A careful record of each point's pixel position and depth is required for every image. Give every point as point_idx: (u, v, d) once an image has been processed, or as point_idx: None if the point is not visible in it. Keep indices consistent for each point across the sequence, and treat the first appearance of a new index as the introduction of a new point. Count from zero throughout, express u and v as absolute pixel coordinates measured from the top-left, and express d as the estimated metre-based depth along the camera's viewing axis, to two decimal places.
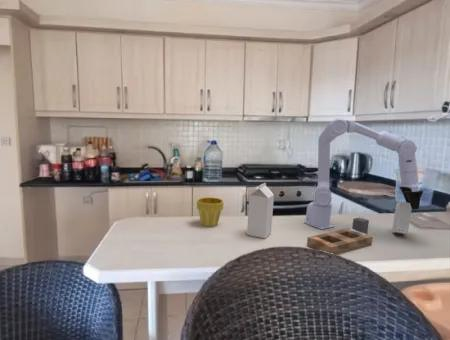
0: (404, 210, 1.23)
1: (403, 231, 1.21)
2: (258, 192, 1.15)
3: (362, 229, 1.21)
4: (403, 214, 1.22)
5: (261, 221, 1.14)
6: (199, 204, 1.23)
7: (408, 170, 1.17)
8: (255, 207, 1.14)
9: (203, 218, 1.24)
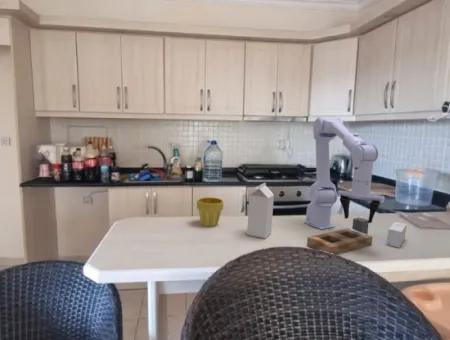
0: None
1: None
2: (258, 192, 1.15)
3: (362, 229, 1.21)
4: None
5: (261, 221, 1.14)
6: (199, 204, 1.23)
7: (353, 178, 1.07)
8: (255, 207, 1.14)
9: (203, 218, 1.24)
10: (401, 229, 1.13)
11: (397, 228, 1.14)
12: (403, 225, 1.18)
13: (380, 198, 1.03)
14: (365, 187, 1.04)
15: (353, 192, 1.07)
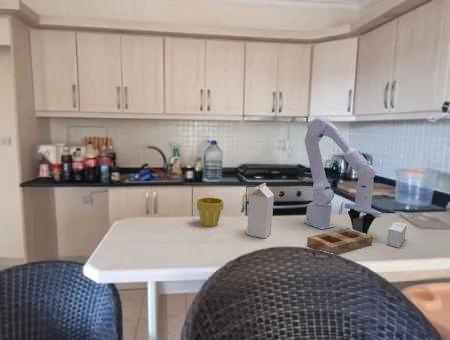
0: None
1: None
2: (258, 192, 1.15)
3: (362, 229, 1.21)
4: None
5: (261, 221, 1.14)
6: (199, 204, 1.23)
7: (361, 195, 1.19)
8: (255, 207, 1.14)
9: (203, 218, 1.24)
10: (401, 229, 1.13)
11: (397, 228, 1.14)
12: (403, 225, 1.18)
13: (376, 213, 1.16)
14: (363, 202, 1.19)
15: (354, 205, 1.22)
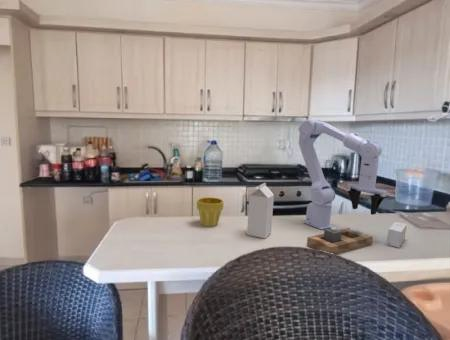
0: None
1: None
2: (258, 192, 1.15)
3: (334, 242, 1.06)
4: None
5: (261, 221, 1.14)
6: (199, 204, 1.23)
7: (364, 173, 1.16)
8: (255, 207, 1.14)
9: (203, 218, 1.24)
10: (401, 229, 1.13)
11: (397, 228, 1.14)
12: (403, 225, 1.18)
13: (381, 192, 1.12)
14: (367, 181, 1.15)
15: (358, 185, 1.18)
